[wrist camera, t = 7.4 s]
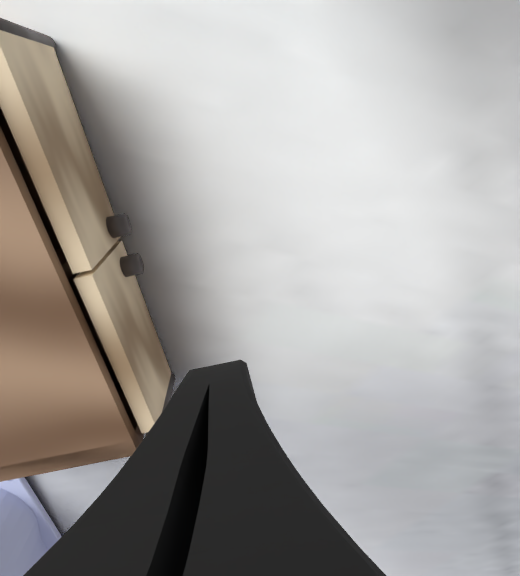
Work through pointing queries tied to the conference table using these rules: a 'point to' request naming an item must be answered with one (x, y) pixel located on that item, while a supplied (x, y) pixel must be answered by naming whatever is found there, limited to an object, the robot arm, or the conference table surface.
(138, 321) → the left door
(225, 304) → the conference table surface
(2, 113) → the box
